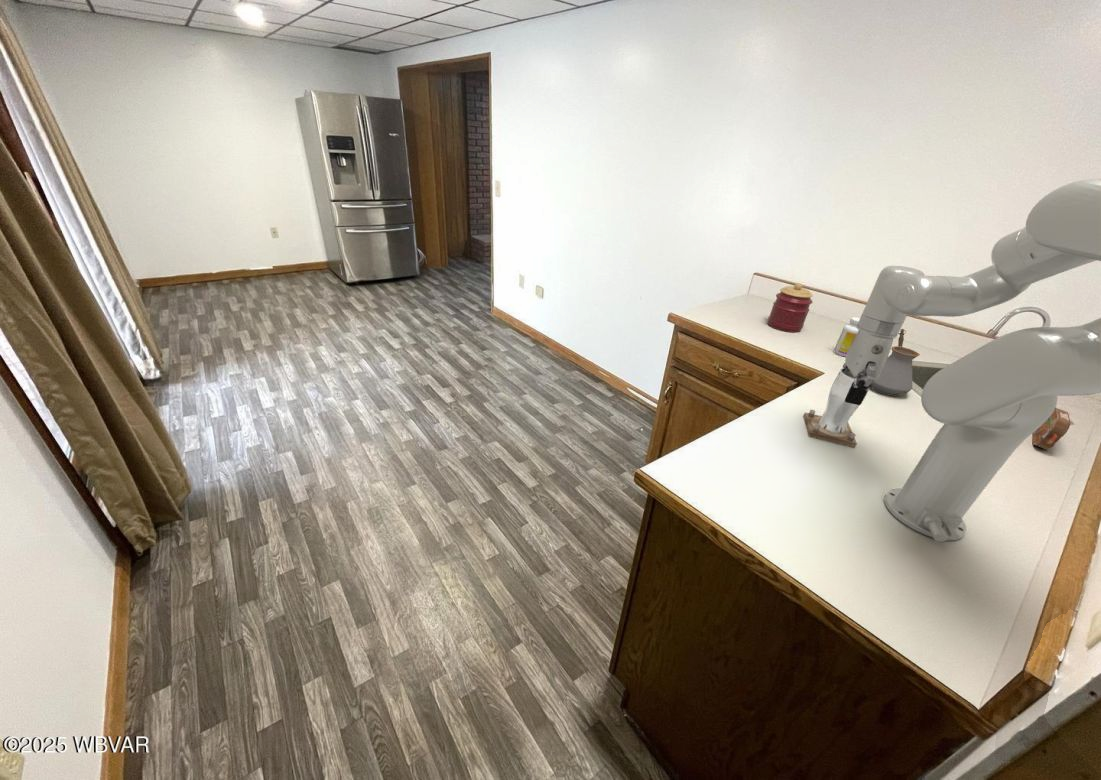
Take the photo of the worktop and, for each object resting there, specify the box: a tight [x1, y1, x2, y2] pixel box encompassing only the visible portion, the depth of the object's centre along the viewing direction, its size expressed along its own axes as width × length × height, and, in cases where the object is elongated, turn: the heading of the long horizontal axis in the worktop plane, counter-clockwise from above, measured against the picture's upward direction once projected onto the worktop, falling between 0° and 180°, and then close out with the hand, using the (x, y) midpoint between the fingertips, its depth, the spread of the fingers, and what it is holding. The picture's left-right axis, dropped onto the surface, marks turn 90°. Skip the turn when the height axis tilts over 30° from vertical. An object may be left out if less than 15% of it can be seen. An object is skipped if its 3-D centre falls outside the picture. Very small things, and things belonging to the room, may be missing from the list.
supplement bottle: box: [833, 316, 861, 358], centre depth 149 cm, size 7×7×13 cm
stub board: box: [803, 409, 858, 448], centre depth 107 cm, size 10×10×3 cm
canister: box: [767, 283, 813, 333], centre depth 168 cm, size 13×13×18 cm
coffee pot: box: [870, 328, 921, 397], centre depth 130 cm, size 21×12×15 cm, turn 149°
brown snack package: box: [1031, 406, 1071, 450], centre depth 108 cm, size 15×3×8 cm, turn 134°
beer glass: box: [817, 367, 869, 434], centre depth 103 cm, size 7×7×15 cm
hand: (847, 393), depth 101 cm, fingers open, 9 cm apart
